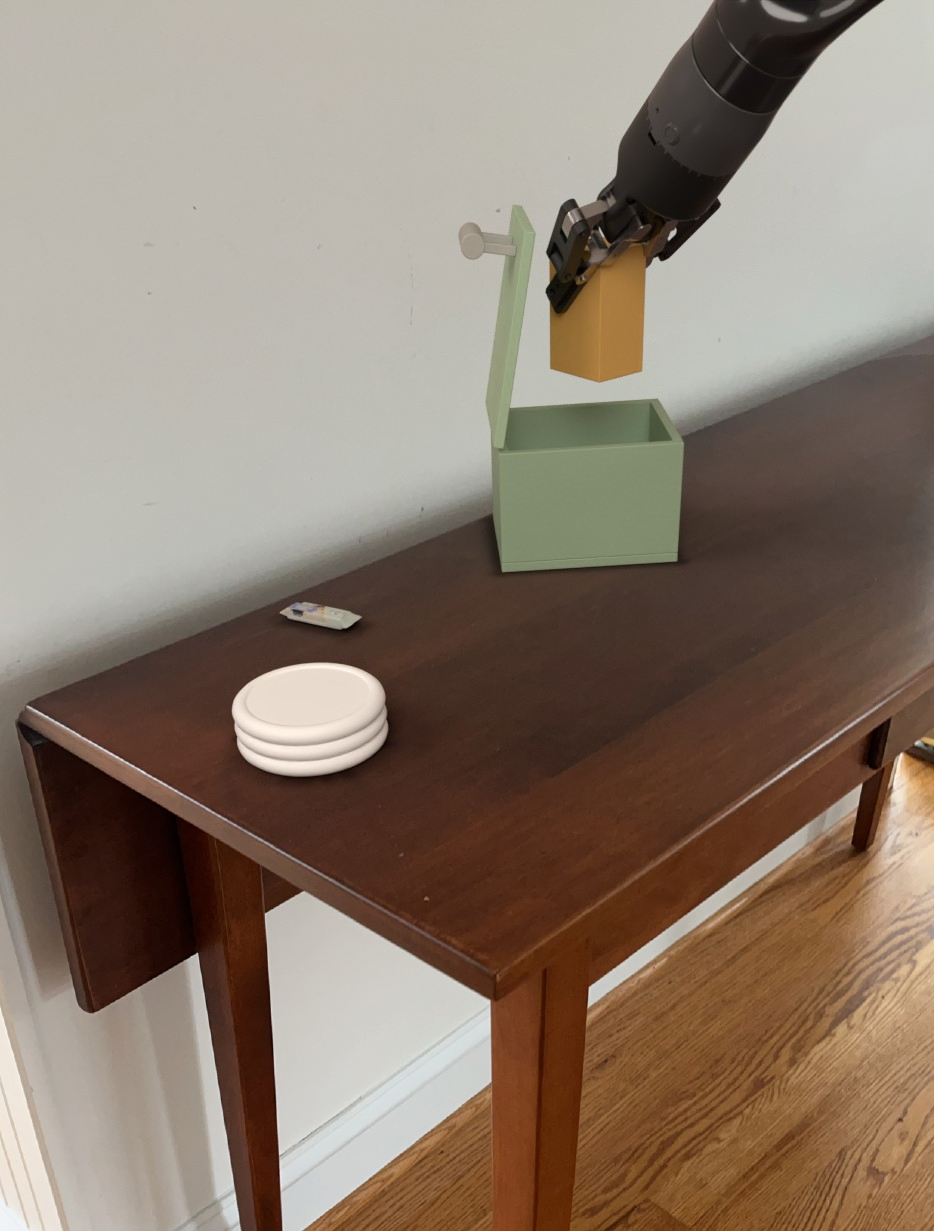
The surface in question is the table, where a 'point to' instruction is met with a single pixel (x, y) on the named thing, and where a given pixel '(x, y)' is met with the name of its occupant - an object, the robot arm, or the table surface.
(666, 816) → the table surface
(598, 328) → the carton
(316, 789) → the table surface
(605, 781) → the table surface
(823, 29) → the robot arm
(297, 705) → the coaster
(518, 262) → the lid
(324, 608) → the granola bar
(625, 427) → the chest
